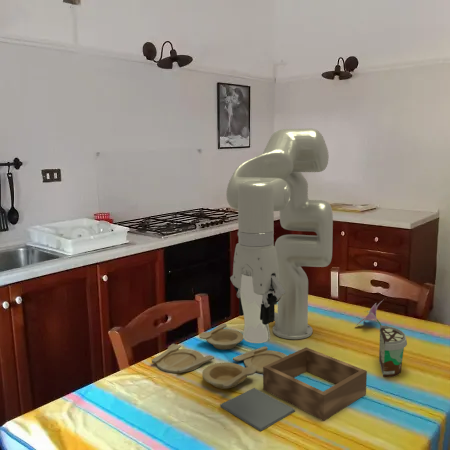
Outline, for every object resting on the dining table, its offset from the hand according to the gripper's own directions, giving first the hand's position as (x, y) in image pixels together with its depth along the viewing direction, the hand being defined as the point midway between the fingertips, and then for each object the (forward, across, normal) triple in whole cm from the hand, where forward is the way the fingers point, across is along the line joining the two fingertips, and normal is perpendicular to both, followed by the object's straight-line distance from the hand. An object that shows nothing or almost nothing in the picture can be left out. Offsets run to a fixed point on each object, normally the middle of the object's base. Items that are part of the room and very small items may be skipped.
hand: (256, 317), depth 105 cm
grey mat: (+22, 0, 0) cm, 22 cm away
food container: (+22, +11, +40) cm, 47 cm away
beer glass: (+5, 0, 0) cm, 5 cm away
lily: (+22, -9, +62) cm, 66 cm away
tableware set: (+23, -23, +10) cm, 34 cm away
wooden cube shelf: (+22, +4, +16) cm, 27 cm away
